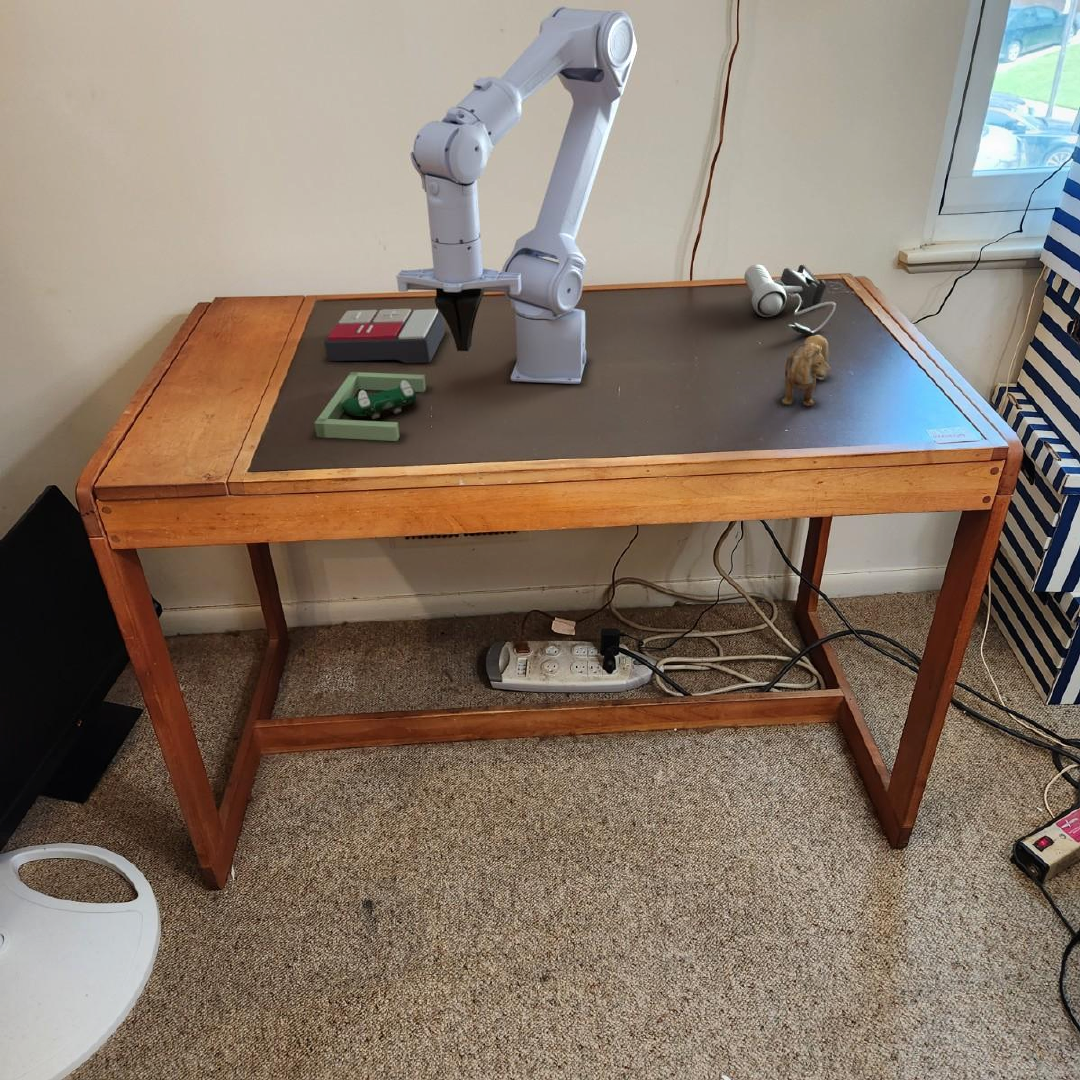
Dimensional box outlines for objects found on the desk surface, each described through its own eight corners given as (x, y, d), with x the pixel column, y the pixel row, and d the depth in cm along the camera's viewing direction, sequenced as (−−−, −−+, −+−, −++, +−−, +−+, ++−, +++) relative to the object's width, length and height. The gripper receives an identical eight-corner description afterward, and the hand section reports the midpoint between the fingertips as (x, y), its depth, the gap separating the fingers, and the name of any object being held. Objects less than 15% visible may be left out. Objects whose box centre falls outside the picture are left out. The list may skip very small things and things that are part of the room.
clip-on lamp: (841, 351, 134) (801, 284, 145) (857, 315, 129) (814, 249, 141) (767, 351, 132) (733, 283, 143) (780, 314, 127) (743, 247, 139)
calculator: (344, 307, 135) (441, 304, 133) (350, 334, 137) (445, 332, 135) (321, 337, 126) (425, 334, 124) (328, 365, 128) (430, 363, 126)
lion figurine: (821, 421, 110) (833, 353, 105) (777, 416, 112) (787, 349, 106) (827, 371, 122) (839, 307, 116) (787, 367, 123) (797, 304, 118)
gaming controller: (349, 431, 115) (355, 415, 109) (339, 404, 115) (345, 387, 110) (416, 414, 118) (425, 398, 113) (406, 387, 119) (415, 370, 113)
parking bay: (426, 388, 120) (424, 374, 119) (397, 441, 109) (395, 426, 108) (353, 385, 122) (351, 371, 120) (317, 437, 110) (314, 422, 109)
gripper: (384, 246, 100) (398, 359, 108) (512, 249, 98) (517, 363, 106) (401, 227, 106) (413, 335, 114) (522, 229, 104) (526, 339, 112)
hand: (464, 347), depth 110 cm, fingers closed
